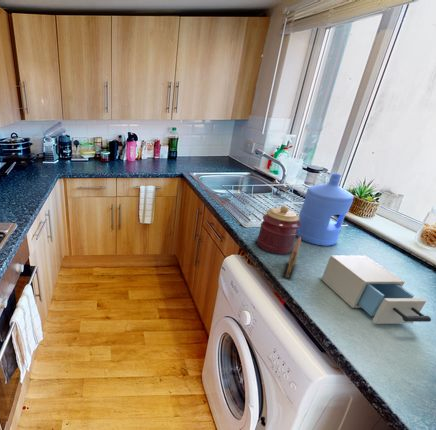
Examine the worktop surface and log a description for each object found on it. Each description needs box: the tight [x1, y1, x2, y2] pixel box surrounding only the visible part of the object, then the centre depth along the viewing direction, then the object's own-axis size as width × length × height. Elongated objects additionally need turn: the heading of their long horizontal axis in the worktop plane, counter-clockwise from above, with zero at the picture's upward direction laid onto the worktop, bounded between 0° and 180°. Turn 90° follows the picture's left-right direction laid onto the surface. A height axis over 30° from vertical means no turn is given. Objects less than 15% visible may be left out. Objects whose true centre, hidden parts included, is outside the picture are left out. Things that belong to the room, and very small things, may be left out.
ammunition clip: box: [283, 236, 302, 280], centre depth 98 cm, size 11×2×12 cm, turn 143°
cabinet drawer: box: [357, 284, 432, 325], centre depth 80 cm, size 17×10×8 cm, turn 1°
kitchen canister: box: [256, 205, 300, 255], centre depth 112 cm, size 13×13×18 cm
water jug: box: [296, 173, 355, 247], centre depth 118 cm, size 16×16×28 cm
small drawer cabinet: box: [321, 254, 405, 309], centre depth 89 cm, size 14×12×10 cm
